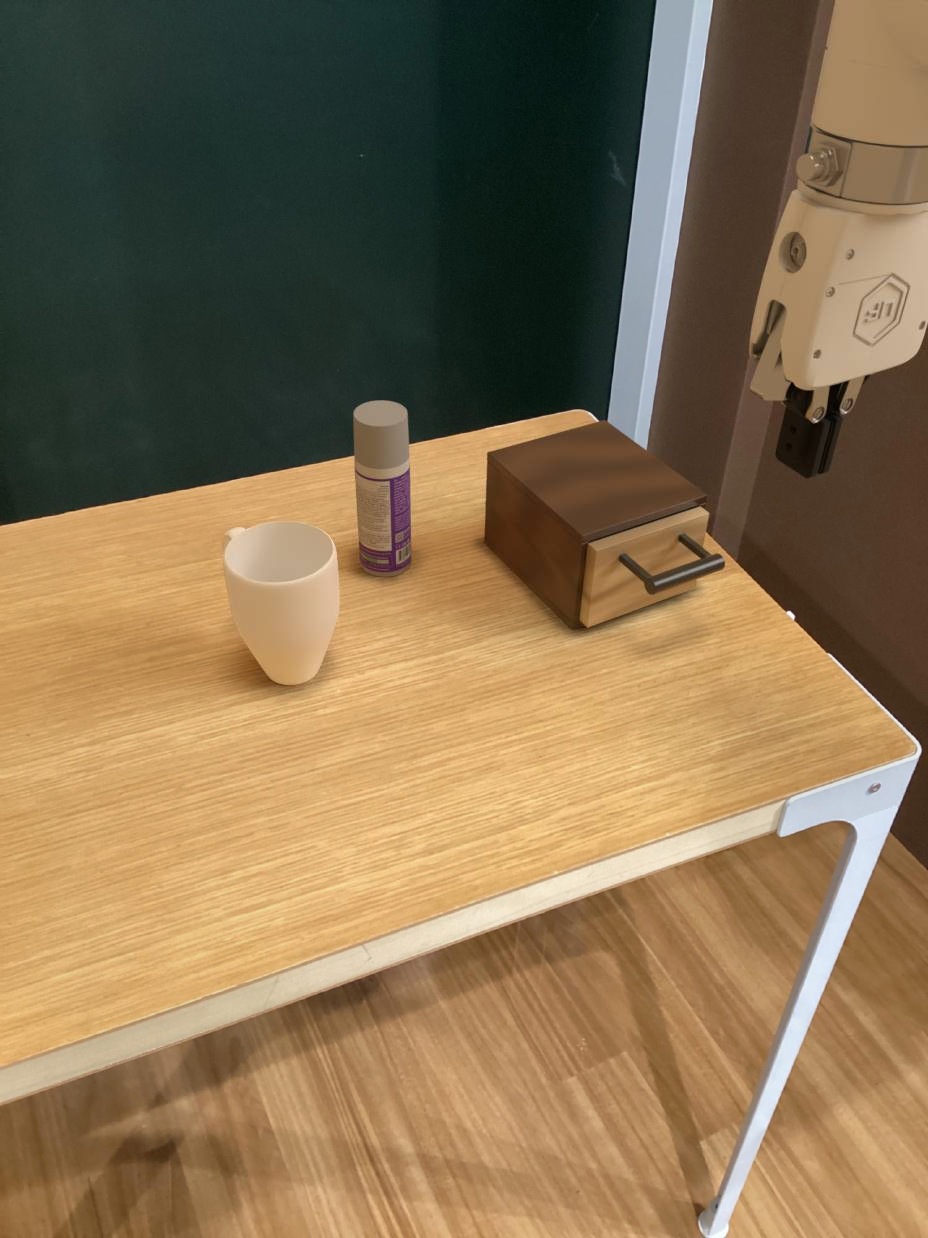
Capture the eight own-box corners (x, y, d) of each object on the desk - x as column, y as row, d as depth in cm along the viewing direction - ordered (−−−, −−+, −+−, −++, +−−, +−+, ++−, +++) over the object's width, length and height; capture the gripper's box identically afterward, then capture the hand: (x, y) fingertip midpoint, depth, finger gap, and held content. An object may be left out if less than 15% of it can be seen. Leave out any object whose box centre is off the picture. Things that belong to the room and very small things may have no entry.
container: (399, 542, 99) (395, 395, 90) (419, 569, 96) (418, 419, 86) (352, 554, 97) (343, 405, 88) (371, 582, 94) (364, 431, 85)
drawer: (732, 619, 90) (749, 542, 85) (622, 662, 85) (634, 584, 80) (604, 512, 102) (613, 440, 97) (502, 545, 97) (506, 471, 92)
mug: (365, 672, 85) (359, 554, 78) (277, 719, 81) (262, 599, 73) (281, 600, 92) (268, 487, 85) (196, 640, 88) (175, 524, 80)
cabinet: (690, 587, 94) (707, 494, 88) (572, 630, 89) (582, 535, 83) (594, 507, 104) (604, 419, 98) (483, 542, 99) (487, 452, 93)
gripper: (822, 206, 51) (751, 526, 62) (1029, 164, 57) (928, 464, 68) (719, 164, 56) (670, 467, 68) (919, 130, 62) (843, 414, 73)
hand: (801, 465), depth 68 cm, fingers closed
